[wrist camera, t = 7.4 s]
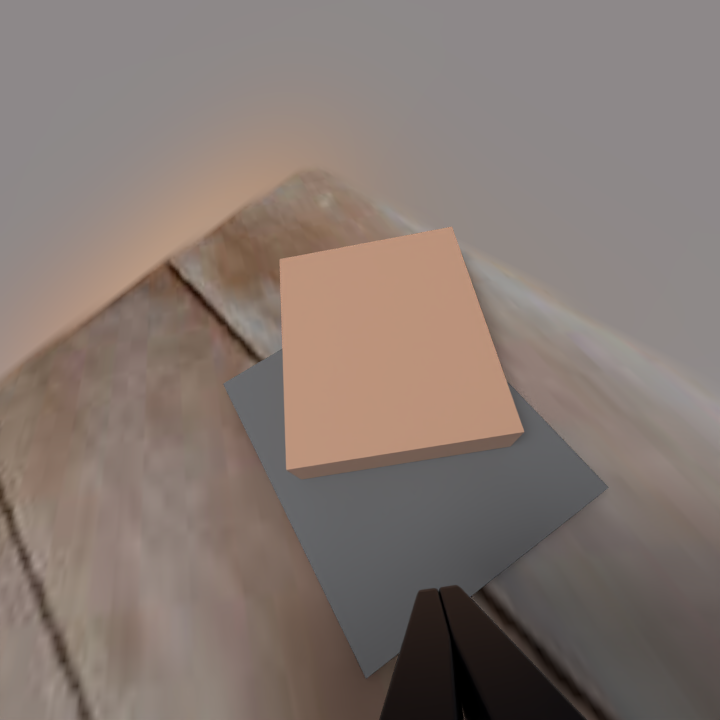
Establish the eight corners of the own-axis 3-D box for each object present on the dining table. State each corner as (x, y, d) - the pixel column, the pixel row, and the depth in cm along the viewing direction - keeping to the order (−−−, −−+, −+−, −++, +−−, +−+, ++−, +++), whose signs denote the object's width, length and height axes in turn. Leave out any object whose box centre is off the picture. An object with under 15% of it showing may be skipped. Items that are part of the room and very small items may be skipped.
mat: (604, 488, 16) (608, 487, 16) (367, 675, 14) (366, 678, 14) (405, 279, 23) (405, 275, 23) (226, 386, 21) (223, 383, 21)
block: (524, 431, 15) (452, 226, 21) (286, 469, 15) (279, 259, 21) (509, 447, 17) (448, 257, 23) (301, 479, 18) (292, 286, 23)
